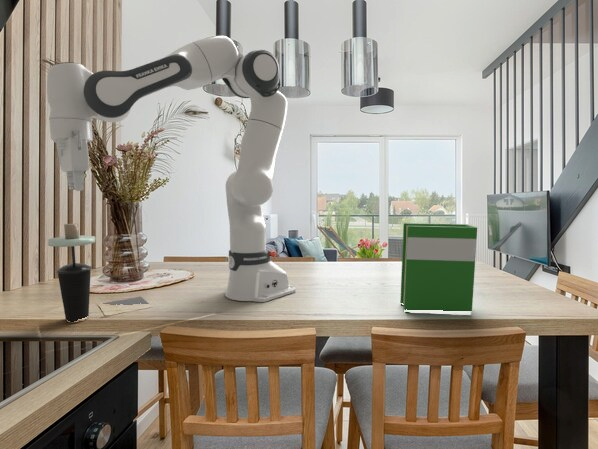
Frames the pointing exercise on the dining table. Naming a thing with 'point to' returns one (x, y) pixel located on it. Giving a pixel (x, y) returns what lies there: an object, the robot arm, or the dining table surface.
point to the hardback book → (438, 266)
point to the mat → (129, 301)
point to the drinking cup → (75, 288)
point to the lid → (71, 238)
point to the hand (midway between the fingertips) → (76, 190)
